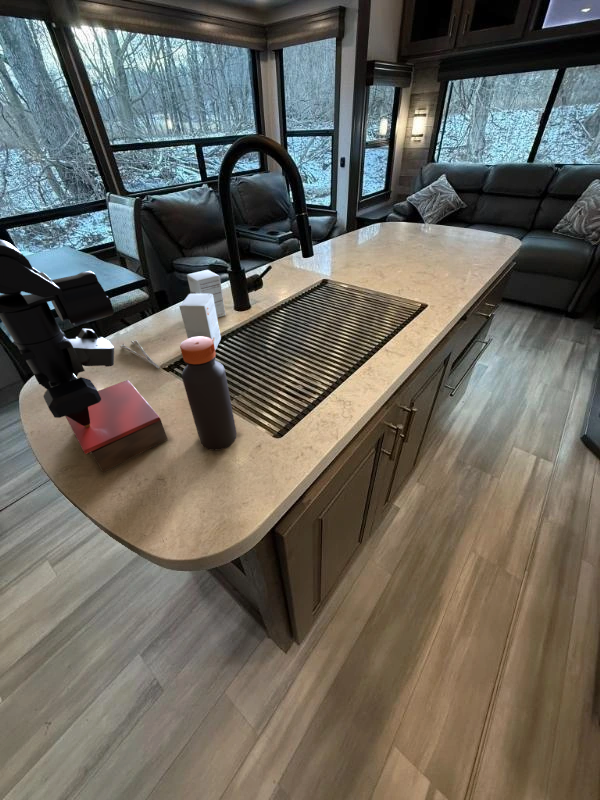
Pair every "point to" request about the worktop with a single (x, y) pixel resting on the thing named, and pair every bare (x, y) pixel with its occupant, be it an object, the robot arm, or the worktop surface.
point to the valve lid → (114, 417)
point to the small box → (200, 317)
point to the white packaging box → (208, 288)
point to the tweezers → (139, 354)
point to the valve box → (129, 446)
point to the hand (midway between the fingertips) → (82, 417)
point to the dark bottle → (208, 393)
